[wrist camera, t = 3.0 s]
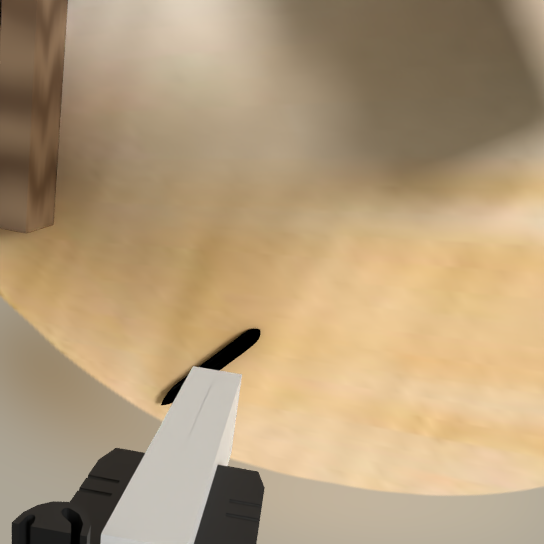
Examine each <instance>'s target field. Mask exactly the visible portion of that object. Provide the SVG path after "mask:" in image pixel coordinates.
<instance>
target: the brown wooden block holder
mask: <svg viewBox="0 0 544 544" xmlns="http://www.w3.org/2000/svg"><path fill="white" fill-rule="evenodd" d="M67 4H68V0H2V4H1V30H0V228H1V229H6V230H11V231H16V232H21V233H28V232H31V231H35V230H38V229H41V228H44V227H48V226H51V225H53V221H54V206H55V190H56V175H57V159H58V144H59V128H60V113H61V97H62V82H63V66H64V51H65V35H66V20H67Z"/></svg>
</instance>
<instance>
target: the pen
mask: <svg viewBox="0 0 544 544" xmlns="http://www.w3.org/2000/svg"><path fill="white" fill-rule="evenodd" d="M259 337H260V330H259V329H250V330H248V331H246V332H245V333H243V334H242V335H241V336H239V337H238V338H237V339H235V340H234V341H233V342H231V343H230V344H229V345H227V346H226V347H225V348H223V349H222V350H221V351H219V352H218V353H217V354H215V355H214V356H213V357H211V358H210V359H209V360H207V361H206V362H205V363H203V364H202V365H201V366H199V367H201V368H207V369H212V370H218V371H219V370H221V369H222V368H223V367H225V366H226V365H227V364H229V363H230V362H232V361H233V360H234V359H236V358H237V357H238V356H240V355H241V354H242V353H244V352H245V351H246V350H248V349H249V348H250V347H251V346H253V345H254V344H255V343H256V342H257V340H258V339H259ZM187 376H188V375H187ZM187 376H186V377H185V378H183V379H182V380H181V381H180V382H178V383H177V384H176V385H175V386H174V387H173V388H172V389H171V390H170V391H169V392H168V393H167V395H166V396H165V398H164V400H163V402H162V404H161V405H167V404H170V403H173V402H174V400H175V398H176V396H177V394H178V393H179V391H180V389H181V387H182V385H183V384H184V382H185V380H186V378H187Z"/></svg>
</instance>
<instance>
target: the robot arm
mask: <svg viewBox="0 0 544 544" xmlns="http://www.w3.org/2000/svg"><path fill="white" fill-rule="evenodd" d="M241 378H242V374H236V373H230V372H224V371H218V370H212V369H207V368H201V367H195V366H193V367H192V369H191V371H190V373H189V374H188V376H187V378H186V380H185V382H184V384H183V385H182V387H181V389H180V391H179V393H178V394H177V396H176V398H175V400H174V402H173V404H172V405H171V407H170V409H169V411H168V413H167V415H166V416H165V418H164V420H163V422H162V424H161V425H160V427H159V429H158V431H157V433H156V435H155V436H154V438H153V440H152V442H151V444H150V446H149V448H148V449H147V451H146V453H142V452H136V451H131V450H125V449H120V448H115V449H114V450H113V451H111V452H109V453H108V454H106V455H105V456H103V457H102V458H101V459H99V460H98V462H97V463H96V465H95V466H94V467H93V469H92V470H91V472H90V473H89V475H88V478H86V479H85V481H84V482H83V484H82V485H81V487H80V489H79V491H77V492H76V494H75V495H74V497H73V498H72V500H71V501H70V503H69V502H49V503H45V504H41V505H37V506H35V507H33V508H31V509H29V510H27V511H25V512H23V513H22V514H21V515H20V516H19V517H18V518H16V519H15V520H14V521H13V522H12V544H256V541H257V535H258V528H259V521H260V514H261V507H262V501H263V494H264V486H263V483H262V480H261V478H260V475H259V473H258V472H257V471H251V470H246V469H240V468H234V467H229V466H228V463H229V459H230V455H231V450H232V443H233V436H234V429H235V421H236V414H237V407H238V400H239V392H240V385H241Z"/></svg>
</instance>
